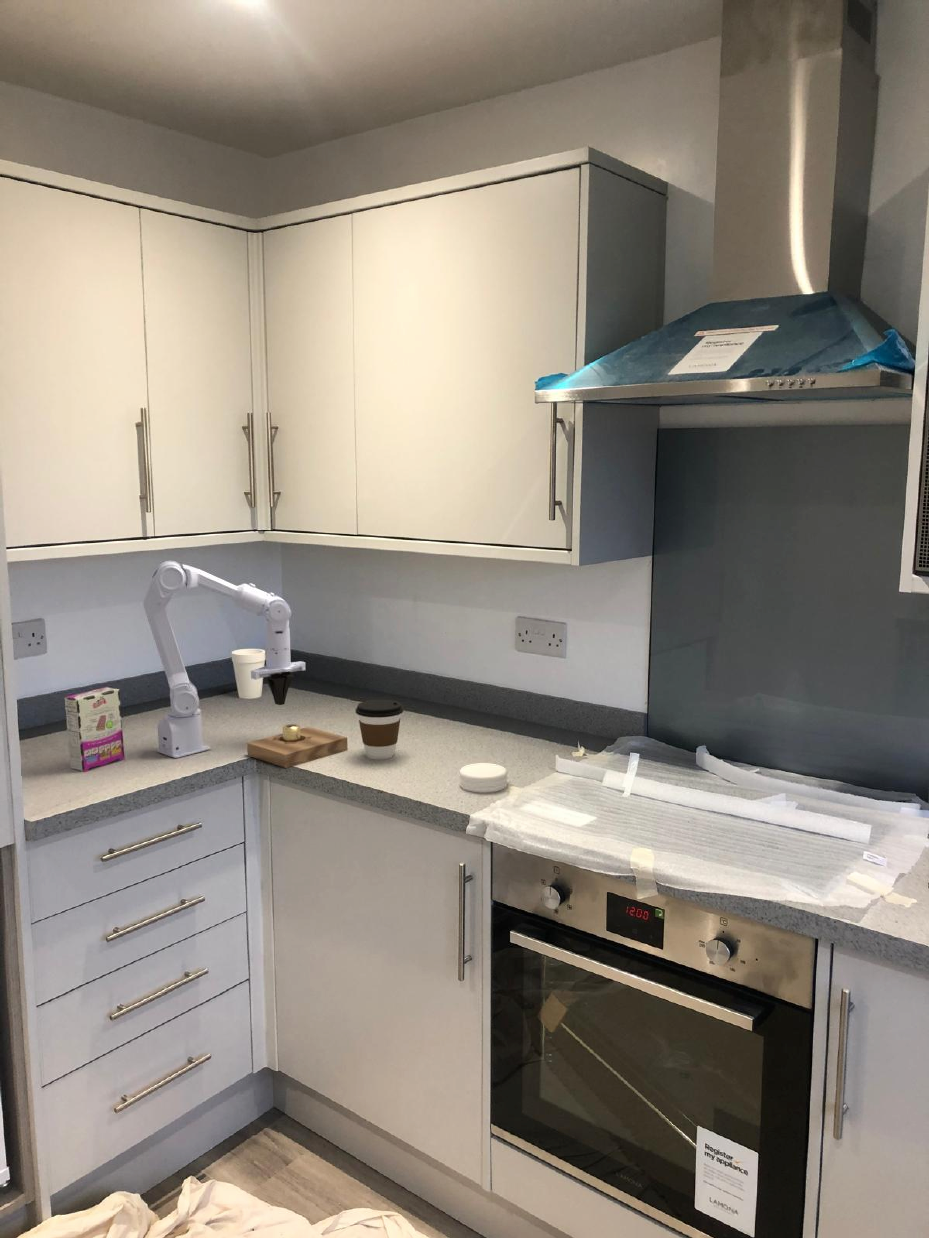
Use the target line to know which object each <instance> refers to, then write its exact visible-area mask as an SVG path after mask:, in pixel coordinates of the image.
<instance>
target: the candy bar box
mask: <svg viewBox="0 0 929 1238" xmlns="http://www.w3.org/2000/svg"><path fill="white" fill-rule="evenodd" d="M120 695H121V693H120V688H113V687H110V686H109V687H108V686H105V687H102V688H96V689H92V690H90V691H89V690H88V691H86V692H85V691H84V692H81V693H77V694H73V695H69V696H65V697H64V698H63V699H64V706H65V707H64V709H65V710H64V711H65V719H66V720H65V721H66V729H67V730H66V731H67V732H66V733H67V741H68V744H67V745H68V753H69V755H68V756H69V766H70V769H72V770H74V771H79V772H85V773H86V772H88V771H91V770H95V769H98V768H102V767H104V766H106V765H110V764H113V763H115V762H116V763H117V762H118V761H122V760H124V759H125V746H124V734H123V724H122V722H123V721H122V709H121V697H120Z"/></svg>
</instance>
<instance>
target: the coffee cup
mask: <svg viewBox="0 0 929 1238" xmlns="http://www.w3.org/2000/svg"><path fill="white" fill-rule="evenodd" d="M355 713H356V714H357V715H358V722H359V728H360V729H359V730H360V735H361V740H362V744H363V747H364V752H365V755H366V756H367V758H369V759H371V760H388V759H391V758H393V757H394V755H395V752H396V746H397V743H398V739H399V732H400V724H401V714H403V713H404V707H403V705H402V703H401V702H399V701H397V700H394V699H369V700H365V701H361V702H360V703H358V705H357V707H356V708H355Z"/></svg>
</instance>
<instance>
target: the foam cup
mask: <svg viewBox="0 0 929 1238" xmlns="http://www.w3.org/2000/svg"><path fill="white" fill-rule="evenodd" d="M231 661H232V663H233V664H232V665H233V671H234V677H235V682H236V687H237V694H238V698H239V699H246V700H248V699H249V700H251V699H257V698H261V697H262V694H263V693H262V692H263V683H264V682H263V681H264V677H263V678H259V679H257V680H255V679H251V670H255V669H259V668H262V667H265V664H266V663H265V662H266V649H261V648H242V649H235V650H232V651H231Z"/></svg>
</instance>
